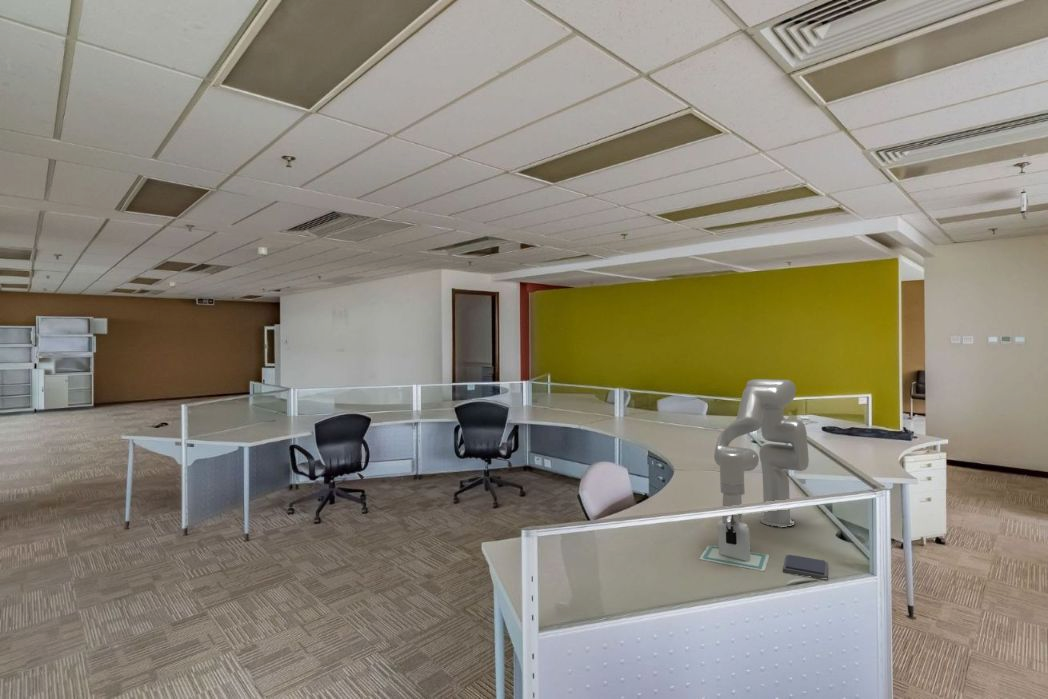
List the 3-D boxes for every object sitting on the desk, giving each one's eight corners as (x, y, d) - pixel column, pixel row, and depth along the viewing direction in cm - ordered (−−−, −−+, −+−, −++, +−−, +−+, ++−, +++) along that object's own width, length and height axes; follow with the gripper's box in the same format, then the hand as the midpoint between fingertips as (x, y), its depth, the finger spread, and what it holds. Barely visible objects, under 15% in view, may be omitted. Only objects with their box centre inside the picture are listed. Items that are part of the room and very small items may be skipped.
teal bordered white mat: (708, 545, 182) (708, 543, 182) (769, 555, 171) (769, 554, 171) (699, 559, 170) (699, 557, 170) (764, 571, 159) (764, 569, 159)
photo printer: (716, 554, 173) (715, 518, 173) (722, 550, 176) (721, 515, 176) (747, 562, 166) (746, 525, 166) (752, 558, 169) (751, 521, 169)
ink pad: (786, 558, 169) (785, 553, 169) (827, 565, 162) (827, 560, 162) (782, 572, 158) (782, 566, 158) (827, 580, 152) (827, 574, 152)
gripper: (725, 481, 180) (726, 529, 180) (715, 493, 165) (717, 545, 165) (748, 483, 176) (749, 532, 176) (740, 496, 161) (741, 549, 161)
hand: (733, 538), depth 171 cm, fingers open, 9 cm apart
